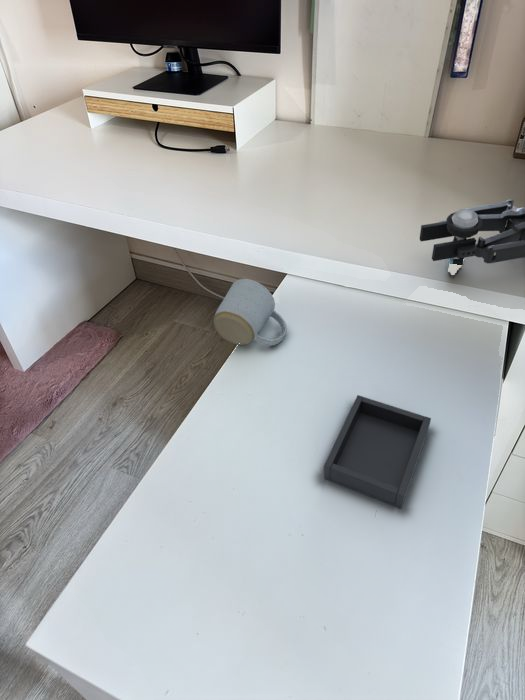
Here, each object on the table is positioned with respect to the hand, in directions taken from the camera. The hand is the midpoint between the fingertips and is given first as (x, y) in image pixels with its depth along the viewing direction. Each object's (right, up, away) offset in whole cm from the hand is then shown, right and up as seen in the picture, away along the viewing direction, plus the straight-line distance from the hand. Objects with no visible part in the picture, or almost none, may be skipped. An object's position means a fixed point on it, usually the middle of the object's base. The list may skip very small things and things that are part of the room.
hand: (427, 242), depth 82 cm
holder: (-12, -31, -18) cm, 38 cm away
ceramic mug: (-28, -14, -1) cm, 32 cm away
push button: (+6, -3, +4) cm, 8 cm away
